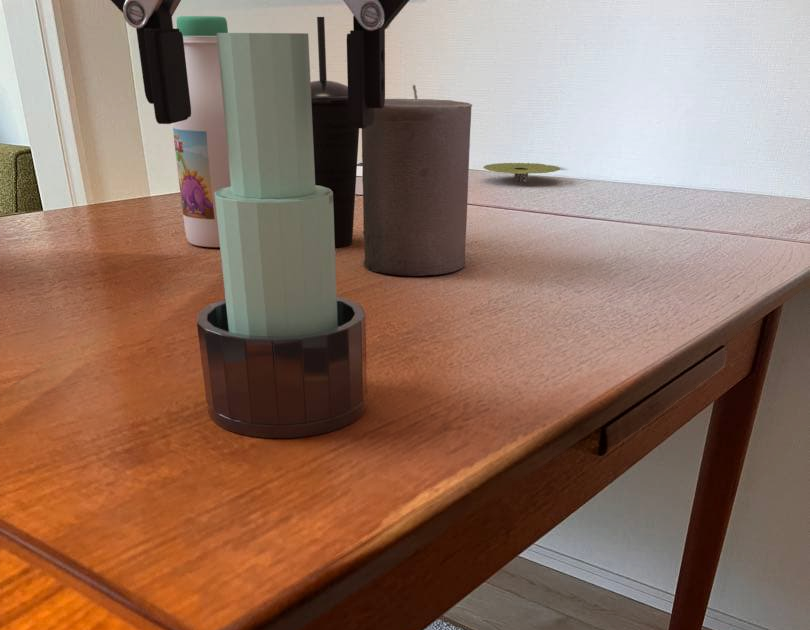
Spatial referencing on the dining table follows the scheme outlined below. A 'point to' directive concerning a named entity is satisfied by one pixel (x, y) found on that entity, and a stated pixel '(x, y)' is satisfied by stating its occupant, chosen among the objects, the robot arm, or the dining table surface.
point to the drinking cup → (334, 145)
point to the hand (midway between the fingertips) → (267, 123)
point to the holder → (284, 375)
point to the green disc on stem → (521, 169)
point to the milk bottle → (202, 131)
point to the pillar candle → (416, 186)
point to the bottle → (273, 192)
